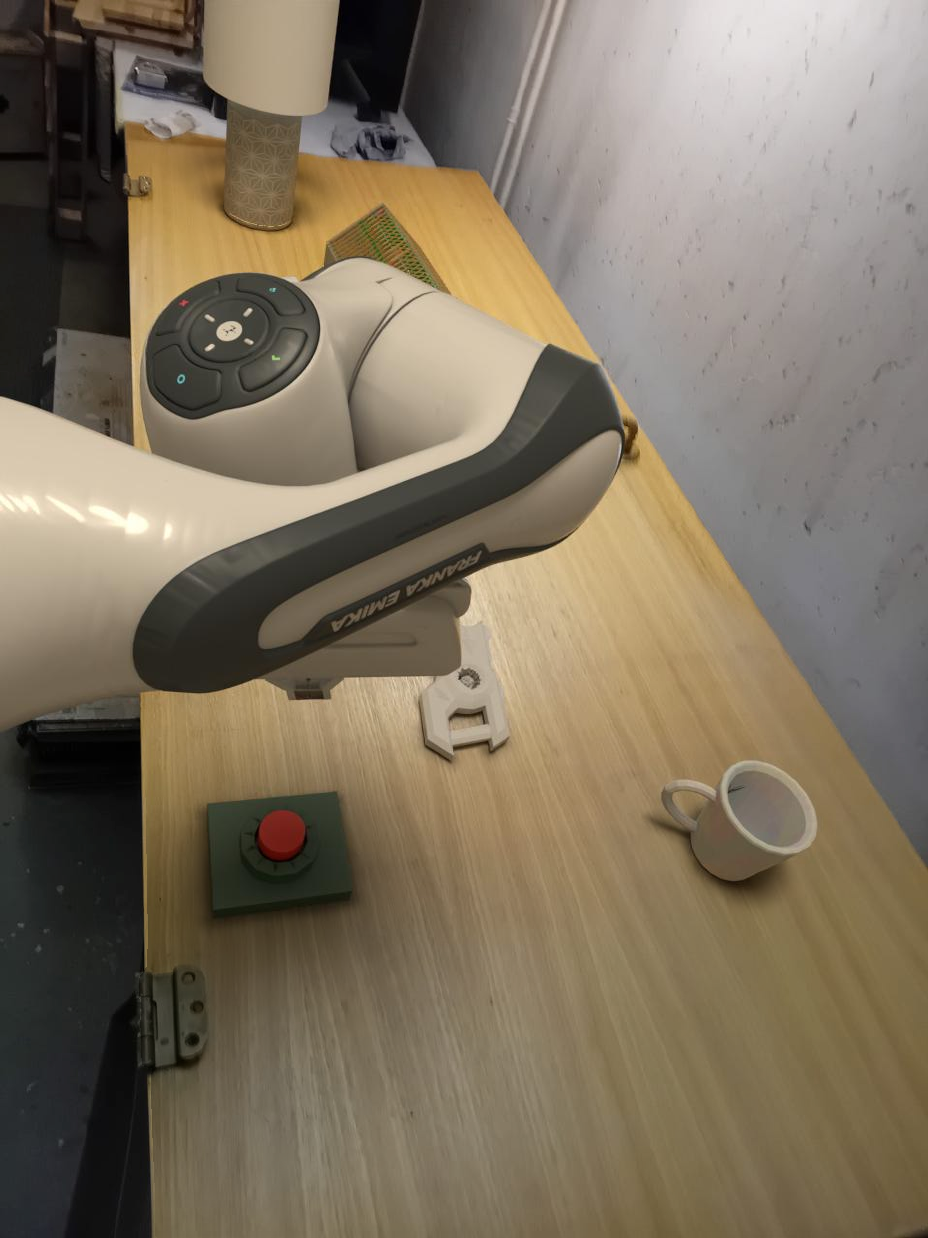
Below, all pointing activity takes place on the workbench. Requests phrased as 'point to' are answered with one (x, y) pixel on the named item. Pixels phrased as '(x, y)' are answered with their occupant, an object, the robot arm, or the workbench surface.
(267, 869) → the button box
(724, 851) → the mug
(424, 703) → the beige holed clip
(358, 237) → the grey sloped slatted box
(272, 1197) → the workbench surface
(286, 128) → the lamp
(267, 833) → the button
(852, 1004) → the workbench surface
